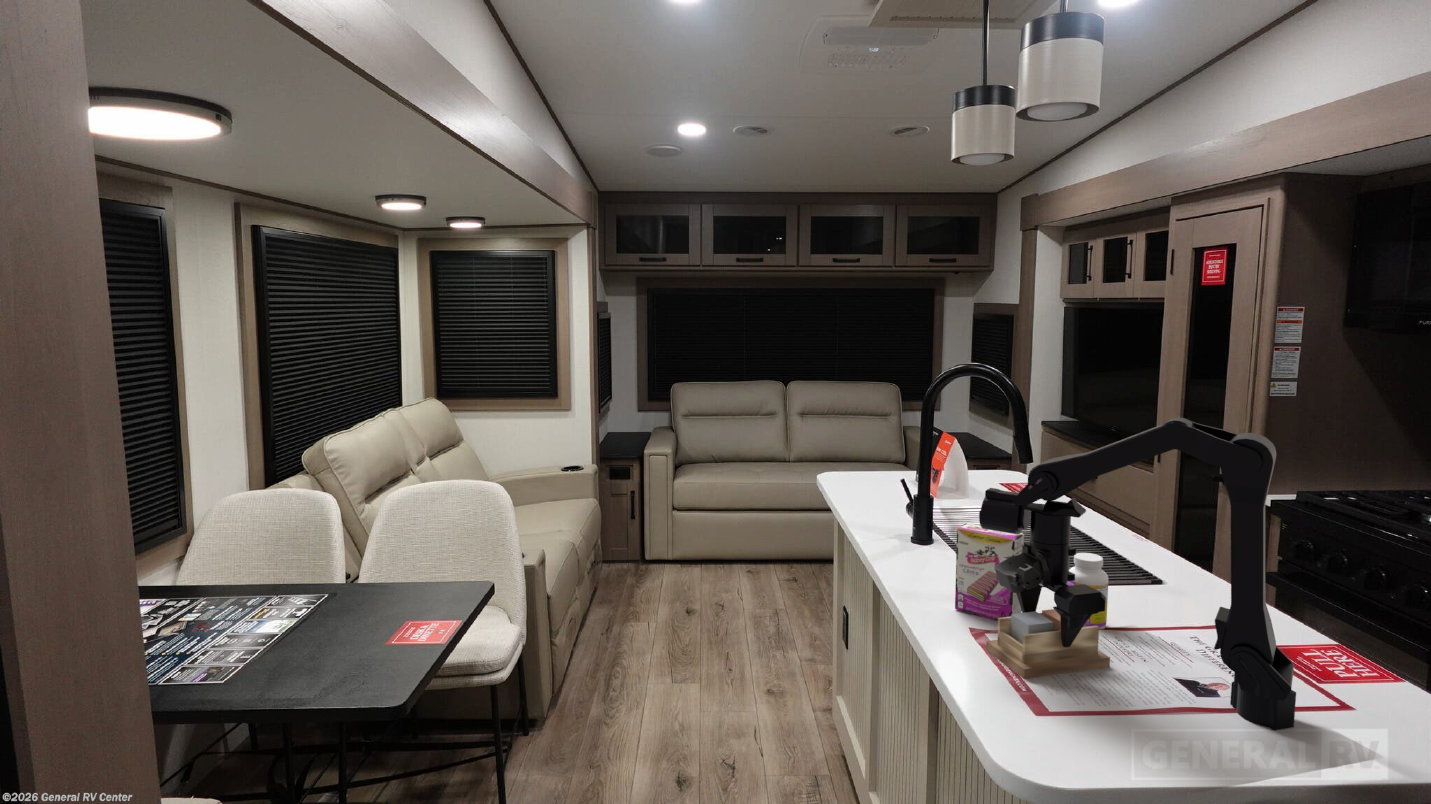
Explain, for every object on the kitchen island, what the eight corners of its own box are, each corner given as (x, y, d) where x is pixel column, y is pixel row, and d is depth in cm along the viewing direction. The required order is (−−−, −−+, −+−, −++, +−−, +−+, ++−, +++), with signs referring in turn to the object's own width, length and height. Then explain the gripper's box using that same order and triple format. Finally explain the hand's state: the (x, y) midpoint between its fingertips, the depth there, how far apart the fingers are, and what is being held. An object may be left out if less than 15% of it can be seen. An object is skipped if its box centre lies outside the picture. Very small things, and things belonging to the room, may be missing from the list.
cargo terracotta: (1083, 642, 115) (1084, 618, 115) (1059, 645, 115) (1060, 621, 114) (1065, 631, 120) (1065, 607, 119) (1041, 634, 119) (1042, 610, 118)
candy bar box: (953, 610, 140) (955, 527, 138) (965, 602, 144) (966, 521, 142) (1012, 626, 133) (1014, 538, 131) (1022, 617, 136) (1025, 532, 134)
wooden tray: (1067, 635, 121) (1068, 609, 121) (1097, 654, 115) (1098, 626, 114) (997, 644, 119) (998, 618, 118) (1024, 664, 112) (1025, 636, 111)
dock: (1109, 676, 114) (1110, 657, 114) (1023, 688, 111) (1024, 669, 110) (1065, 648, 124) (1066, 631, 123) (986, 658, 120) (986, 641, 120)
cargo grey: (1052, 646, 114) (1053, 622, 114) (1027, 650, 113) (1028, 625, 113) (1034, 635, 119) (1035, 611, 118) (1010, 638, 118) (1011, 614, 117)
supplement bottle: (1057, 621, 134) (1059, 554, 133) (1083, 615, 137) (1085, 548, 135) (1088, 636, 128) (1091, 565, 127) (1115, 628, 131) (1118, 559, 129)
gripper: (970, 527, 122) (968, 616, 124) (1042, 563, 104) (1039, 667, 106) (1029, 522, 124) (1027, 609, 126) (1110, 556, 106) (1106, 658, 108)
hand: (1046, 634), depth 117 cm, fingers open, 9 cm apart
